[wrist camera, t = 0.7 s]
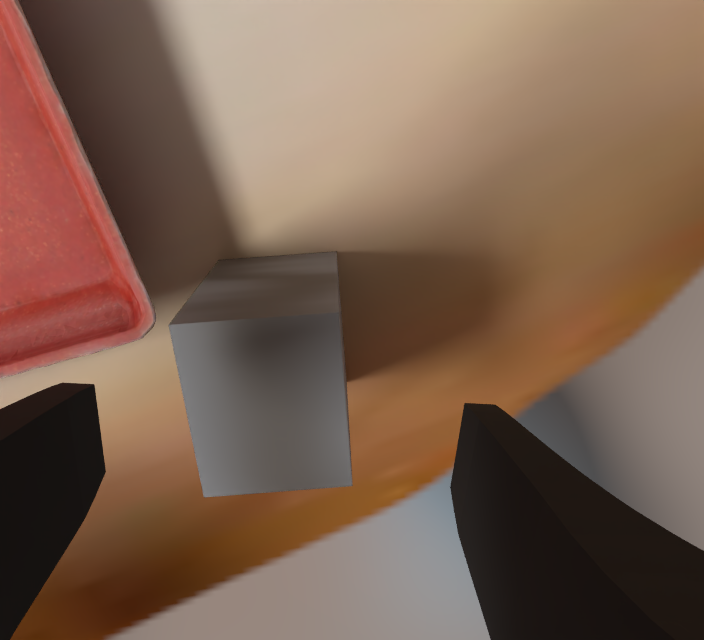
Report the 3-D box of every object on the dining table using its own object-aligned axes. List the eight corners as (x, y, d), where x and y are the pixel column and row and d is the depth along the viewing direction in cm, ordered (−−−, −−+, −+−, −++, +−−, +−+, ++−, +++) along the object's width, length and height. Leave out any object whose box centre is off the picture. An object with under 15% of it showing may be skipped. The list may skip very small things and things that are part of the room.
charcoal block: (239, 389, 20) (203, 497, 14) (219, 259, 18) (168, 324, 12) (346, 381, 20) (352, 485, 14) (336, 251, 18) (338, 312, 12)
